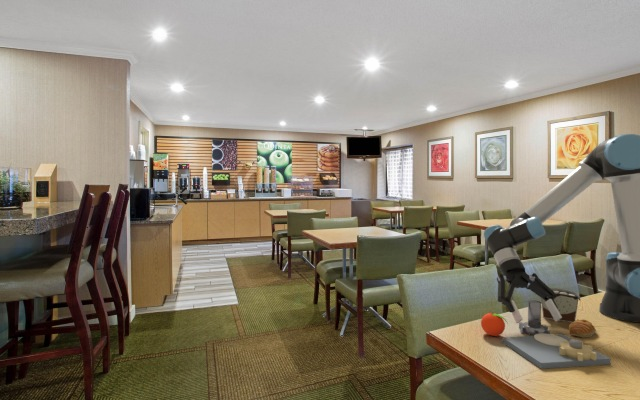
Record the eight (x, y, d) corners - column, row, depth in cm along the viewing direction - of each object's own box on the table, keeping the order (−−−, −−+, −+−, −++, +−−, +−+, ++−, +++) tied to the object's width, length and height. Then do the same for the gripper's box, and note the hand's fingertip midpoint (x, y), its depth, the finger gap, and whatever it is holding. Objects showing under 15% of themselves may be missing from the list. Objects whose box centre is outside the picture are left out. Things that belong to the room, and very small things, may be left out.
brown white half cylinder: (578, 318, 128) (579, 290, 128) (580, 323, 123) (580, 295, 123) (538, 312, 135) (539, 285, 135) (538, 316, 130) (538, 289, 129)
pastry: (589, 341, 109) (589, 329, 109) (563, 335, 114) (563, 323, 114) (596, 333, 115) (596, 321, 115) (571, 327, 121) (572, 316, 120)
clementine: (511, 335, 113) (511, 313, 113) (504, 342, 108) (505, 319, 108) (485, 329, 119) (485, 307, 119) (477, 335, 114) (477, 313, 113)
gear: (537, 326, 121) (538, 297, 120) (556, 336, 112) (557, 305, 112) (513, 328, 120) (513, 298, 119) (530, 338, 111) (530, 306, 111)
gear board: (560, 337, 111) (561, 322, 111) (612, 365, 94) (613, 346, 94) (501, 341, 109) (501, 325, 109) (543, 370, 92) (543, 350, 92)
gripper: (536, 268, 132) (568, 323, 118) (472, 270, 129) (497, 327, 115) (547, 256, 127) (581, 313, 112) (481, 258, 124) (508, 316, 109)
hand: (539, 320), depth 114 cm, fingers open, 13 cm apart
